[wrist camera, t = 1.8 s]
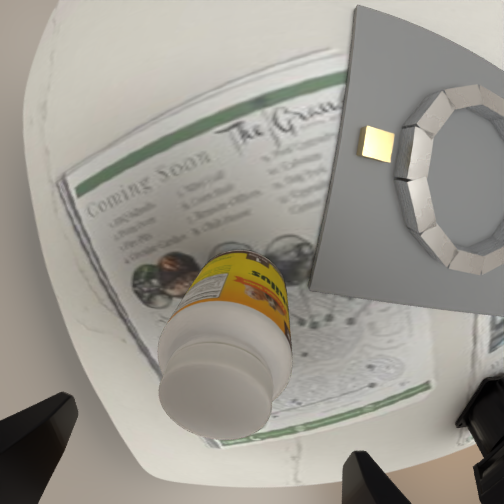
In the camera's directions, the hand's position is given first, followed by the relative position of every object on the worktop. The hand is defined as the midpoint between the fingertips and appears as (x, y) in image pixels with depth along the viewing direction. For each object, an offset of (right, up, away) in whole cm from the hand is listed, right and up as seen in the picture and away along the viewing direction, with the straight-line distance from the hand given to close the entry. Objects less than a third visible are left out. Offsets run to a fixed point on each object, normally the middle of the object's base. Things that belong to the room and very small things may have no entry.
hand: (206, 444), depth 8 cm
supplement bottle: (+1, +3, +12) cm, 12 cm away
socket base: (+15, +11, +8) cm, 20 cm away
